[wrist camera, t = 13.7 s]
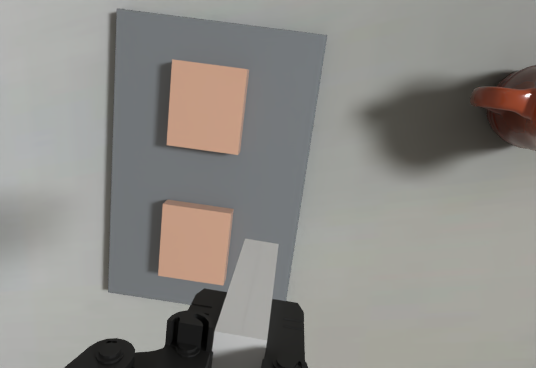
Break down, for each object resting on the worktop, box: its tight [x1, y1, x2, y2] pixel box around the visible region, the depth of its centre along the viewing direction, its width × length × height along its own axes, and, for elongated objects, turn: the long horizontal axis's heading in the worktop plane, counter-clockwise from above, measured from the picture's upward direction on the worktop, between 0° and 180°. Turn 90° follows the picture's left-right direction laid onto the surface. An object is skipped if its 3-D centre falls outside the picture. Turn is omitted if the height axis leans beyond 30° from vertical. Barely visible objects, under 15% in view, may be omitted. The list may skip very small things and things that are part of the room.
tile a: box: [167, 59, 249, 155], centre depth 38 cm, size 8×2×7 cm
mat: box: [108, 9, 327, 305], centre depth 41 cm, size 30×20×1 cm, turn 173°
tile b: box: [158, 200, 234, 285], centre depth 41 cm, size 8×2×7 cm
